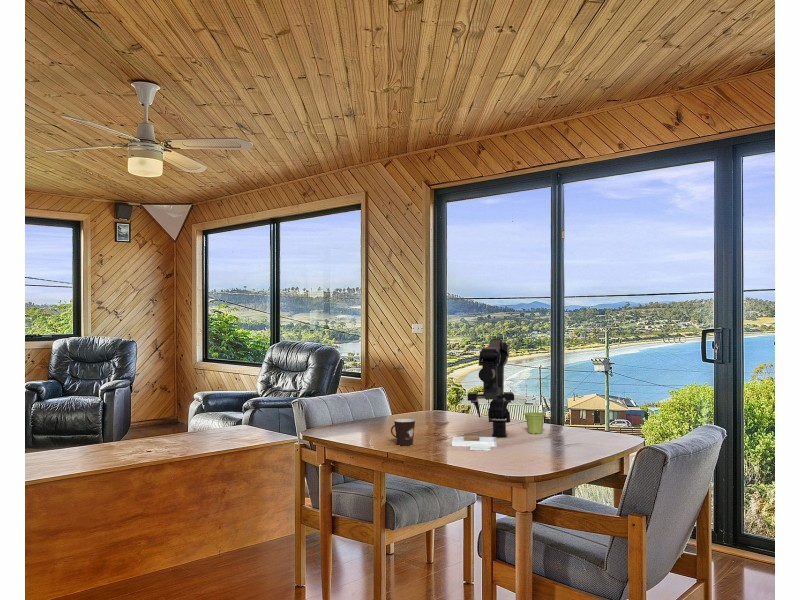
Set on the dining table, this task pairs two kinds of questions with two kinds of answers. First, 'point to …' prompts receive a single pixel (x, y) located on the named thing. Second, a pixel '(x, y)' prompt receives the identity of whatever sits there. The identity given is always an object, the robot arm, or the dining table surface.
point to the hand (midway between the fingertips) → (491, 417)
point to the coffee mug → (404, 431)
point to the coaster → (480, 447)
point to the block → (471, 437)
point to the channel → (482, 441)
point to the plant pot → (534, 422)
